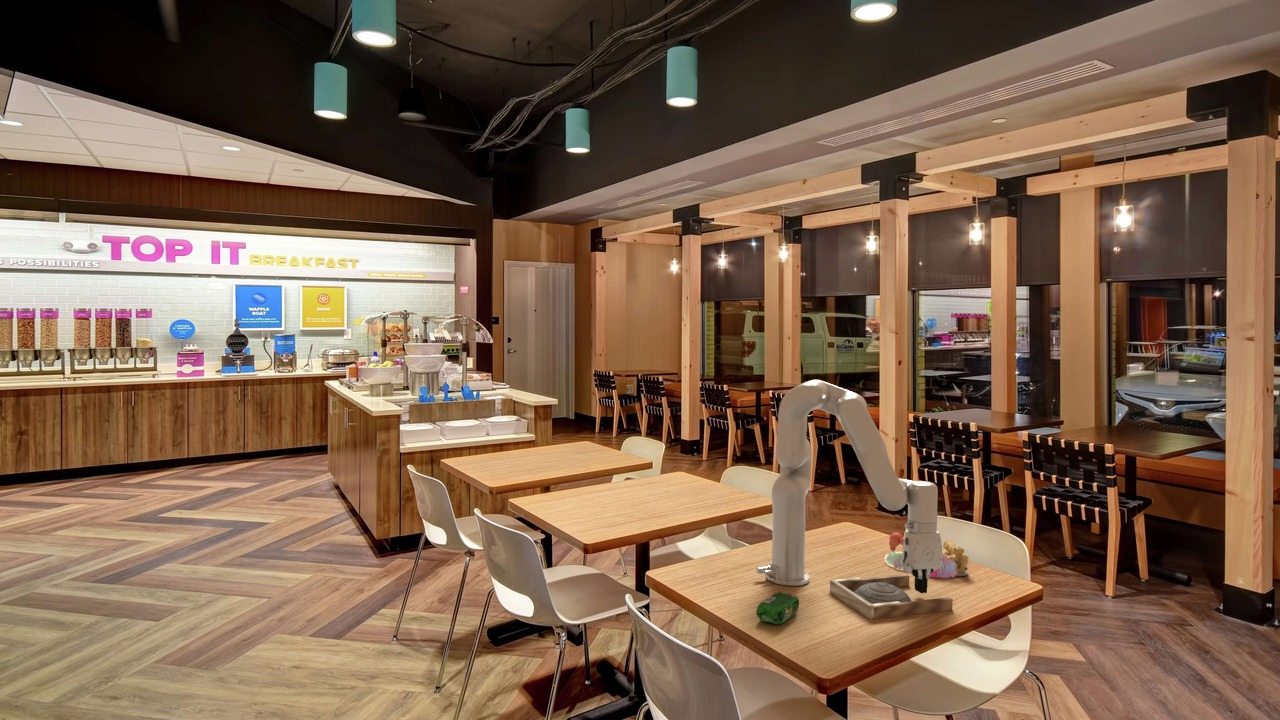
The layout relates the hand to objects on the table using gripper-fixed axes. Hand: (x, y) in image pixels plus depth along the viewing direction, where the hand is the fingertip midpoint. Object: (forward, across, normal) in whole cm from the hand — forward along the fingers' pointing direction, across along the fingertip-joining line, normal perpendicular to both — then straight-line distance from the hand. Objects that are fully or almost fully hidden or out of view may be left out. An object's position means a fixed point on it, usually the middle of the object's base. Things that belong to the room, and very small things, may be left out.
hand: (920, 591), depth 195 cm
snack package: (+2, -45, -4) cm, 45 cm away
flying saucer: (+2, -12, 0) cm, 13 cm away
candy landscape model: (+2, +19, +23) cm, 30 cm away
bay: (+2, -9, 0) cm, 10 cm away
